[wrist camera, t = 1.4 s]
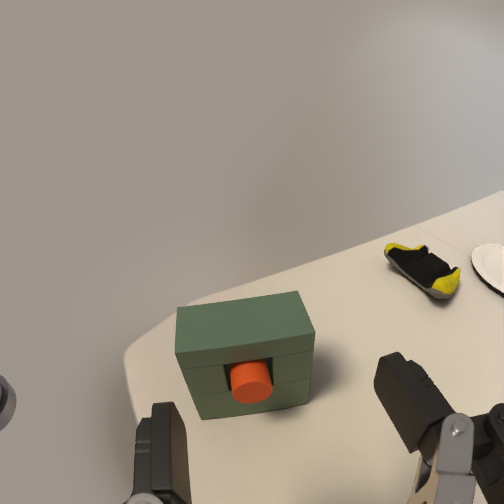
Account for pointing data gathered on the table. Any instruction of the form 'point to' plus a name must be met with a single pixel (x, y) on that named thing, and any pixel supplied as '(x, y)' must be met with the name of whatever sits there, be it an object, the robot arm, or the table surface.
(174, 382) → the table surface
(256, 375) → the push knob
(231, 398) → the block
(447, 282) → the toy running shoe
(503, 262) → the plate
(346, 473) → the table surface
